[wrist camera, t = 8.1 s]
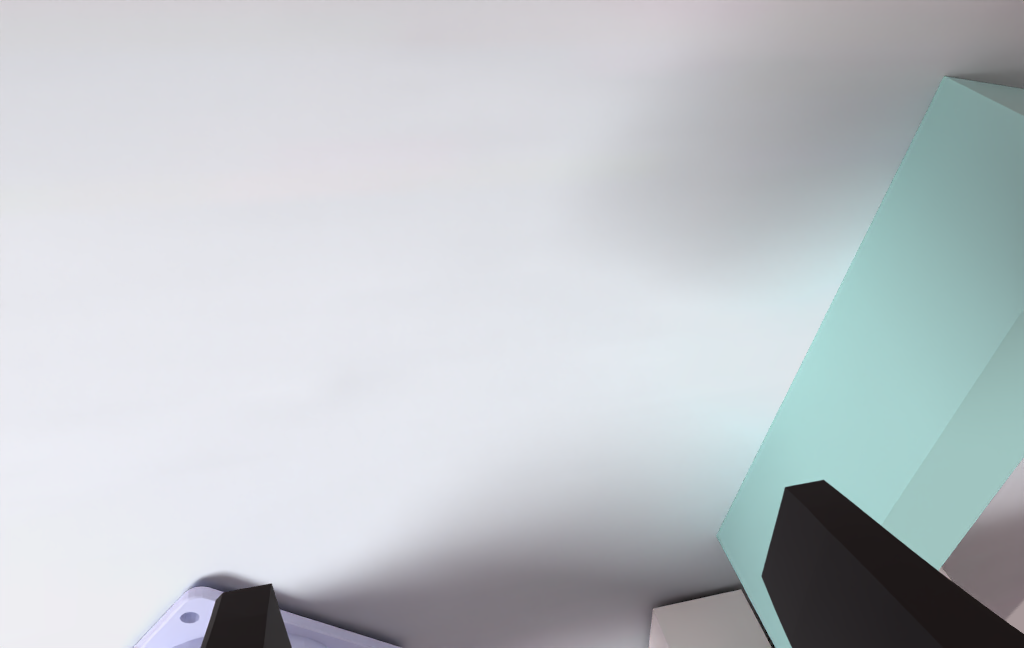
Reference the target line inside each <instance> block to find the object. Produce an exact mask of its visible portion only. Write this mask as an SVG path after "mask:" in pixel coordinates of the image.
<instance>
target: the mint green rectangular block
mask: <svg viewBox="0 0 1024 648" xmlns="http://www.w3.org/2000/svg"><path fill="white" fill-rule="evenodd" d="M1023 457H1024V89H1022V88H1015V87H1009V86H1003V85H997V84H991V83H984V82H978V81H972V80H966V79H960V78H953V77H947V76H944V77H943V79H942V81H941V83H940V86H939V88H938V90H937V92H936V94H935V96H934V98H933V100H932V102H931V104H930V106H929V108H928V110H927V112H926V114H925V116H924V118H923V120H922V122H921V124H920V126H919V128H918V130H917V132H916V134H915V136H914V138H913V140H912V142H911V144H910V146H909V148H908V150H907V152H906V154H905V156H904V158H903V160H902V162H901V164H900V166H899V168H898V170H897V172H896V174H895V176H894V178H893V180H892V182H891V184H890V186H889V188H888V190H887V192H886V194H885V196H884V198H883V201H882V203H881V205H880V207H879V209H878V211H877V213H876V215H875V217H874V219H873V221H872V223H871V225H870V227H869V229H868V231H867V233H866V235H865V237H864V239H863V241H862V243H861V245H860V247H859V249H858V251H857V253H856V255H855V257H854V259H853V261H852V263H851V265H850V267H849V269H848V271H847V273H846V275H845V277H844V279H843V281H842V283H841V285H840V287H839V289H838V291H837V293H836V295H835V297H834V299H833V301H832V303H831V305H830V307H829V309H828V311H827V313H826V315H825V318H824V320H823V322H822V324H821V326H820V328H819V330H818V332H817V334H816V336H815V338H814V340H813V342H812V344H811V346H810V348H809V350H808V352H807V354H806V356H805V358H804V360H803V362H802V364H801V366H800V368H799V370H798V372H797V374H796V376H795V378H794V380H793V382H792V384H791V386H790V388H789V390H788V392H787V394H786V396H785V398H784V400H783V402H782V404H781V406H780V408H779V410H778V412H777V414H776V416H775V418H774V420H773V422H772V424H771V426H770V428H769V430H768V433H767V435H766V437H765V439H764V441H763V443H762V445H761V447H760V449H759V451H758V453H757V455H756V457H755V459H754V461H753V463H752V465H751V467H750V469H749V471H748V473H747V475H746V477H745V479H744V481H743V483H742V485H741V487H740V489H739V491H738V493H737V495H736V497H735V499H734V501H733V503H732V505H731V507H730V509H729V511H728V513H727V515H726V517H725V519H724V521H723V523H722V525H721V527H720V529H719V531H718V533H717V535H716V536H717V538H718V540H719V542H720V544H721V546H722V548H723V550H724V552H725V553H726V555H727V557H728V559H729V561H730V563H731V565H732V567H733V569H734V570H735V572H736V574H737V576H738V578H739V580H740V582H741V584H742V586H743V587H744V589H745V591H746V593H747V595H748V597H749V599H750V601H751V603H752V604H753V606H754V608H755V610H756V612H757V614H758V616H759V618H760V620H761V621H762V623H763V625H764V627H765V629H766V631H767V633H768V635H769V637H770V638H771V640H772V642H773V644H774V646H775V648H792V647H791V645H790V643H789V641H788V638H787V636H786V634H785V631H784V629H783V627H782V625H781V622H780V620H779V618H778V616H777V613H776V611H775V609H774V606H773V604H772V601H771V599H770V596H769V594H768V591H767V589H766V587H765V584H764V582H763V579H762V577H761V576H762V572H763V568H764V564H765V561H766V557H767V553H768V549H769V545H770V542H771V538H772V534H773V530H774V527H775V523H776V519H777V515H778V512H779V508H780V504H781V500H782V497H783V493H784V489H785V487H788V486H793V485H798V484H804V483H809V482H814V481H819V480H825V481H826V482H827V483H829V484H830V485H831V486H833V487H834V488H835V489H836V490H838V491H839V492H840V493H841V494H843V495H844V496H845V497H846V498H848V499H849V500H850V501H851V502H853V503H854V504H855V505H856V506H858V507H859V508H860V509H861V510H863V511H864V512H865V513H866V514H867V515H869V516H870V517H871V518H872V519H874V520H875V521H876V522H877V523H879V524H880V525H881V526H882V527H884V528H885V529H886V530H887V531H889V532H890V533H891V534H892V535H894V536H895V537H896V538H897V539H899V540H900V541H901V542H902V543H904V544H905V545H906V546H907V547H909V548H910V549H911V550H912V551H914V552H915V553H916V554H917V555H919V556H920V557H921V558H923V559H924V560H925V561H926V562H928V563H929V564H930V565H931V566H933V567H934V568H935V569H937V570H938V571H939V569H940V568H941V567H942V565H943V564H944V563H945V561H946V560H947V559H948V557H949V556H950V555H951V553H952V552H953V551H954V549H955V548H956V547H957V545H958V544H959V543H960V541H961V540H962V539H963V537H964V536H965V535H966V533H967V532H968V531H969V529H970V528H971V527H972V525H973V524H974V523H975V521H976V520H977V519H978V517H979V516H980V515H981V513H982V512H983V511H984V509H985V508H986V507H987V505H988V504H989V503H990V501H991V500H992V499H993V497H994V496H995V495H996V493H997V492H998V491H999V489H1000V488H1001V487H1002V485H1003V484H1004V483H1005V481H1006V480H1007V479H1008V477H1009V476H1010V475H1011V473H1012V472H1013V471H1014V469H1015V468H1016V467H1017V465H1018V464H1019V463H1020V461H1021V460H1022V459H1023Z"/></svg>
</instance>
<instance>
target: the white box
mask: <svg viewBox="0 0 1024 648" xmlns="http://www.w3.org/2000/svg"><path fill="white" fill-rule="evenodd" d="M939 572H940V573H942V574H943V575H944V576H946V577H947V578H948V579H950V577H949V576H948V575H947V574H946V572H945V571H944V570H943V568H942V567H941V568H940V569H939ZM950 580H951V579H950ZM951 581H952V580H951ZM952 582H953V581H952ZM649 648H772V647H771V645H770V643H769V641H768V640H767V638H766V636H765V634H764V632H763V630H762V628H761V626H760V624H759V622H758V621H757V619H756V617H755V615H754V613H753V611H752V609H751V607H750V605H749V603H748V602H747V600H746V598H745V596H744V594H743V592H742V590H741V589H740V590H736V591H731V592H727V593H722V594H718V595H713V596H708V597H704V598H699V599H695V600H690V601H685V602H681V603H676V604H672V605H667V606H662V607H658V608H653V614H652V622H651V631H650V639H649Z"/></svg>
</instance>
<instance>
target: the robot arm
mask: <svg viewBox="0 0 1024 648" xmlns="http://www.w3.org/2000/svg"><path fill="white" fill-rule="evenodd" d="M761 577H762V579H763V582H764V584H765V587H766V589H767V591H768V594H769V596H770V599H771V601H772V604H773V606H774V609H775V611H776V613H777V616H778V618H779V620H780V622H781V625H782V627H783V629H784V631H785V634H786V636H787V638H788V641H789V643H790V645H791V647H792V648H1024V634H1023V633H1021V632H1020V631H1019V630H1017V629H1016V628H1014V627H1013V626H1011V625H1010V624H1009V623H1007V622H1006V621H1005V620H1003V619H1002V618H1000V617H999V616H998V615H996V614H995V613H994V612H992V611H991V610H989V609H988V608H987V607H985V606H984V605H983V604H981V603H980V602H979V601H977V600H976V599H975V598H973V597H972V596H971V595H969V594H968V593H967V592H965V591H964V590H963V589H961V588H960V587H959V586H957V585H956V584H955V583H954V582H952V581H951V580H950V579H948V578H947V577H946V576H944V575H943V574H942V573H940V572H939V571H938V570H937V569H935V568H934V567H933V566H931V565H930V564H929V563H928V562H926V561H925V560H924V559H923V558H921V557H920V556H919V555H917V554H916V553H915V552H914V551H912V550H911V549H910V548H909V547H907V546H906V545H905V544H904V543H902V542H901V541H900V540H899V539H897V538H896V537H895V536H894V535H892V534H891V533H890V532H889V531H887V530H886V529H885V528H884V527H882V526H881V525H880V524H879V523H877V522H876V521H875V520H874V519H872V518H871V517H870V516H869V515H867V514H866V513H865V512H864V511H863V510H861V509H860V508H859V507H858V506H856V505H855V504H854V503H853V502H851V501H850V500H849V499H848V498H846V497H845V496H844V495H843V494H841V493H840V492H839V491H838V490H836V489H835V488H834V487H833V486H831V485H830V484H829V483H827V482H826V481H825V480H819V481H814V482H809V483H804V484H798V485H793V486H788V487H785V489H784V493H783V497H782V500H781V504H780V508H779V512H778V515H777V519H776V523H775V527H774V530H773V534H772V538H771V542H770V545H769V549H768V553H767V557H766V561H765V564H764V568H763V572H762V576H761ZM133 648H401V647H398V646H395V645H392V644H389V643H386V642H382V641H379V640H376V639H373V638H370V637H366V636H363V635H360V634H357V633H354V632H350V631H347V630H344V629H341V628H338V627H334V626H331V625H328V624H325V623H322V622H318V621H315V620H312V619H309V618H306V617H302V616H299V615H296V614H293V613H290V612H286V611H283V610H280V609H279V606H278V602H277V599H276V596H275V593H274V590H273V587H272V584H267V585H261V586H256V587H251V588H245V589H240V590H235V591H229V592H222V591H219V590H216V589H213V588H209V587H204V586H201V587H194V588H191V589H189V590H188V591H186V592H185V593H184V594H183V595H182V596H181V597H180V598H179V599H178V600H177V601H176V602H175V603H174V604H173V606H172V607H171V608H170V609H169V610H168V611H167V612H166V613H165V614H164V615H163V616H162V617H161V618H160V619H159V620H158V622H157V623H156V624H155V625H154V626H153V627H152V628H151V629H150V630H149V631H148V632H147V633H146V634H145V635H144V636H143V638H142V639H141V640H140V641H139V642H138V643H137V644H136V645H135V646H134V647H133Z"/></svg>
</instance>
